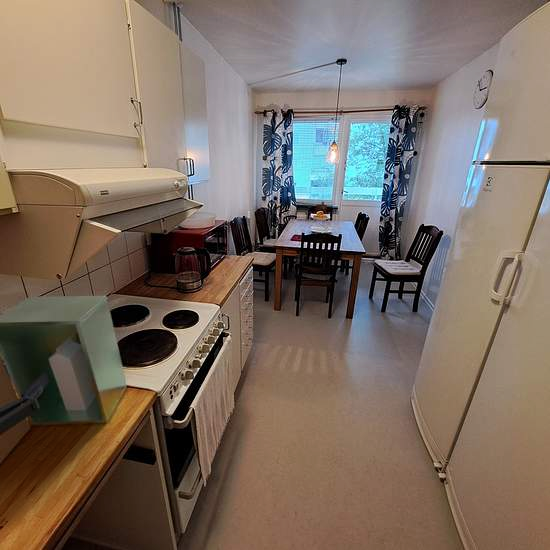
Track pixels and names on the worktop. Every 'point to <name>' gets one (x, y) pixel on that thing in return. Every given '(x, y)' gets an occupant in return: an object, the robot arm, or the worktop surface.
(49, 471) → the worktop surface
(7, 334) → the fridge
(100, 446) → the worktop surface
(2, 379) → the fridge door
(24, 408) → the robot arm
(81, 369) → the milk
